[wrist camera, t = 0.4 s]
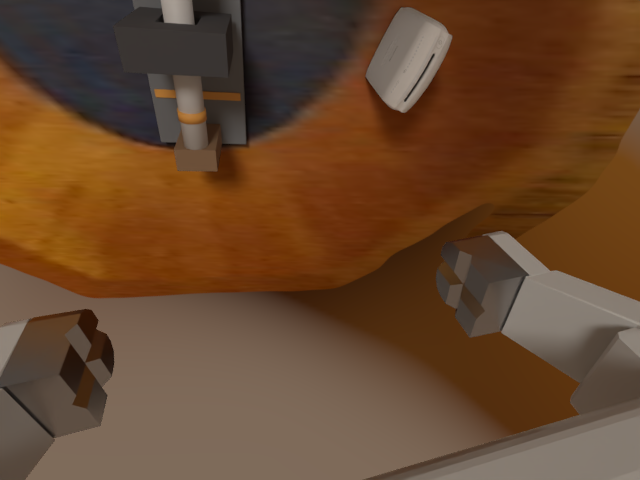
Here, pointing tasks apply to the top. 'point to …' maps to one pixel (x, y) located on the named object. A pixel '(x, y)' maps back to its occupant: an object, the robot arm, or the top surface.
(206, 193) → the top surface
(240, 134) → the pipe rig
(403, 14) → the photo printer
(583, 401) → the robot arm
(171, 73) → the collar
